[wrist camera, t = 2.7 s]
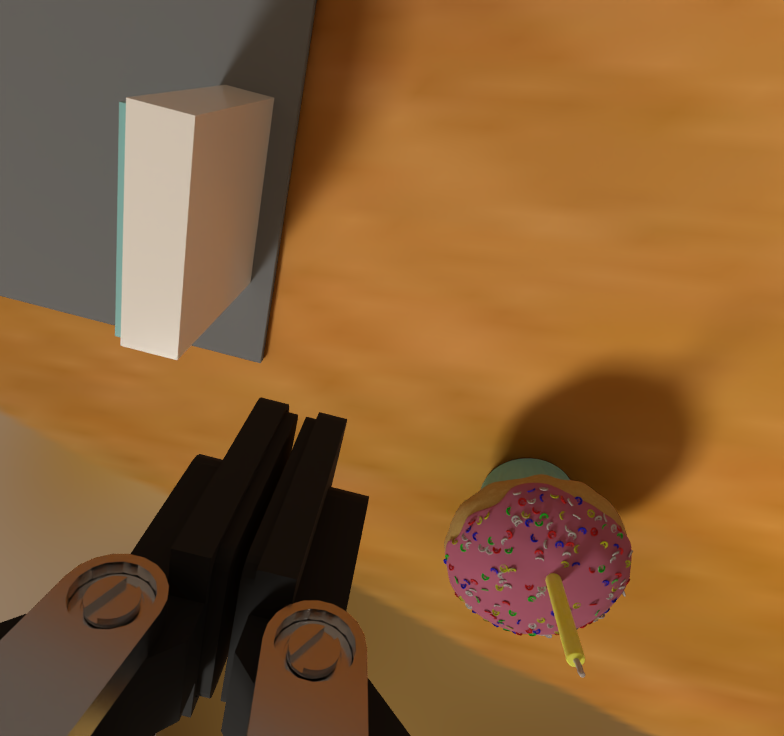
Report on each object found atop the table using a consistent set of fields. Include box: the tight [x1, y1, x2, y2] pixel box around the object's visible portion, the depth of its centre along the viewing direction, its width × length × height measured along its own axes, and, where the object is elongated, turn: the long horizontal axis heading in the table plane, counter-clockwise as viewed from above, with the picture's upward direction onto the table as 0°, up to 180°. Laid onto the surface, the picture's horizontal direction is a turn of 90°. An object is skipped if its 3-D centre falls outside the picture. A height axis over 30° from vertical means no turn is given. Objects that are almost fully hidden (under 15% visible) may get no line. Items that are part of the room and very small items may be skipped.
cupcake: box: [444, 458, 633, 677], centre depth 27 cm, size 9×8×12 cm
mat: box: [0, 0, 317, 363], centre depth 26 cm, size 16×14×1 cm
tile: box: [115, 85, 274, 360], centre depth 23 cm, size 8×2×8 cm, turn 167°
